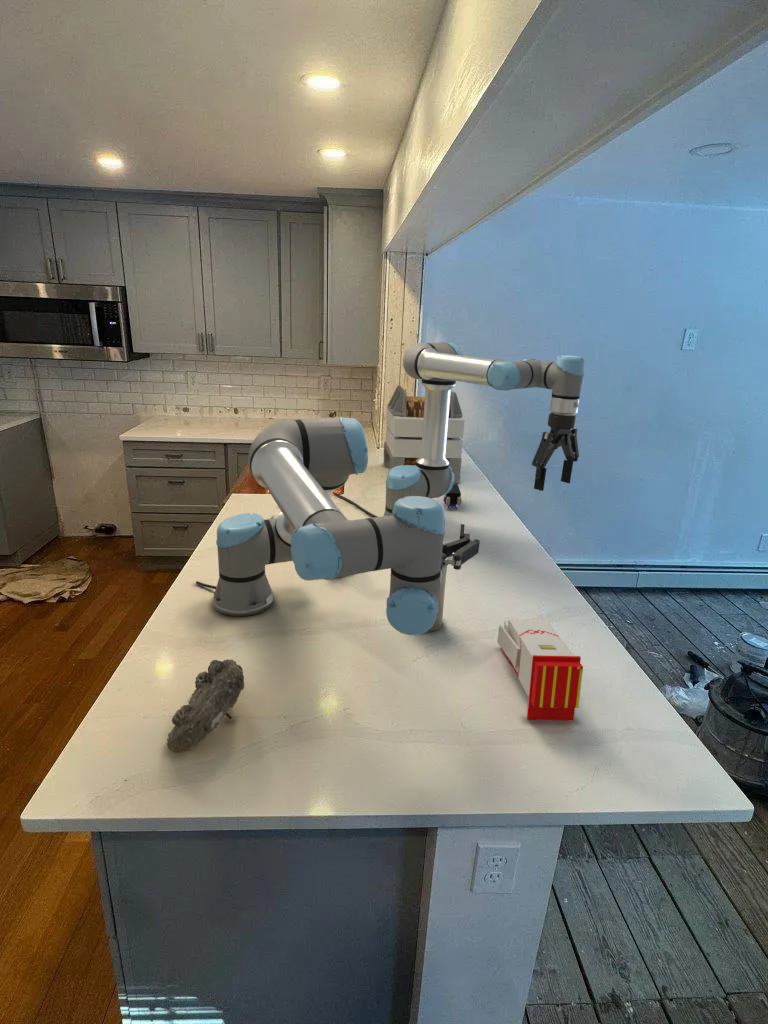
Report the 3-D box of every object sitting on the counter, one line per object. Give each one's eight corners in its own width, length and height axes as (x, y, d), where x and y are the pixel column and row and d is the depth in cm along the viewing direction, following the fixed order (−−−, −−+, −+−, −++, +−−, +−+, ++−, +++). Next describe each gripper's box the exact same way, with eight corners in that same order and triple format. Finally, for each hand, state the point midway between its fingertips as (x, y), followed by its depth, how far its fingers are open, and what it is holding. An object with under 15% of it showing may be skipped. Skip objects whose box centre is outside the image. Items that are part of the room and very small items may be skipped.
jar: (423, 611, 150) (428, 545, 143) (448, 624, 144) (455, 556, 137) (401, 621, 144) (405, 554, 138) (425, 635, 138) (431, 566, 132)
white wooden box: (382, 463, 289) (386, 382, 275) (445, 464, 293) (451, 384, 279) (390, 482, 257) (394, 392, 243) (460, 483, 261) (468, 394, 247)
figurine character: (461, 514, 225) (456, 498, 239) (463, 497, 222) (458, 482, 235) (444, 513, 225) (440, 498, 239) (446, 496, 222) (442, 481, 235)
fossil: (192, 660, 117) (244, 628, 112) (224, 691, 120) (276, 661, 115) (142, 746, 98) (202, 712, 93) (182, 779, 101) (242, 748, 96)
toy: (543, 604, 136) (592, 662, 106) (538, 656, 138) (584, 727, 109) (493, 603, 135) (528, 661, 106) (489, 655, 138) (522, 726, 109)
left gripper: (346, 584, 98) (367, 538, 118) (492, 599, 95) (488, 550, 115) (347, 544, 96) (368, 504, 116) (496, 558, 93) (492, 515, 113)
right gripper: (548, 419, 148) (537, 496, 155) (598, 411, 163) (586, 482, 171) (525, 414, 153) (515, 489, 160) (575, 407, 169) (564, 476, 176)
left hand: (428, 527), depth 115 cm, fingers open, 13 cm apart
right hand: (552, 485), depth 166 cm, fingers open, 13 cm apart
